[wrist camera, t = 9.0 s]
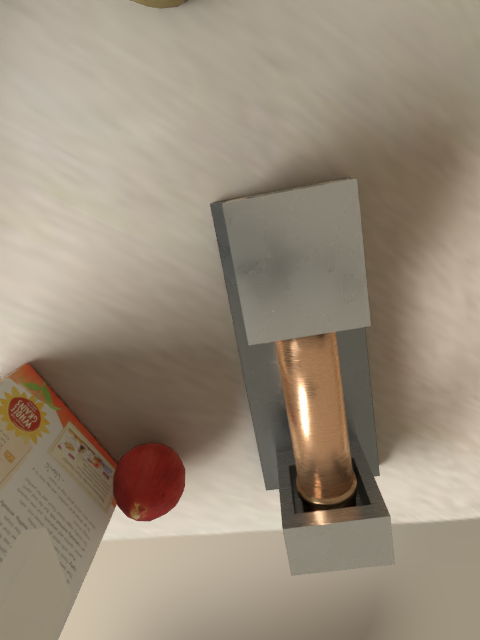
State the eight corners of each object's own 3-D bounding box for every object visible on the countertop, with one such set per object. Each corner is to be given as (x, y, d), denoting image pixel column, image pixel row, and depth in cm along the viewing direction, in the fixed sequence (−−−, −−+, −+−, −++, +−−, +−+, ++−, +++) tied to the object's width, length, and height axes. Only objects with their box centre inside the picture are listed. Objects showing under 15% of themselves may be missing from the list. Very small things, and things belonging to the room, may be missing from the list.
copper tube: (299, 499, 34) (305, 543, 30) (263, 286, 29) (264, 303, 25) (353, 492, 34) (367, 535, 29) (326, 275, 28) (339, 290, 24)
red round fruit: (189, 482, 39) (173, 555, 31) (127, 476, 39) (96, 547, 31) (192, 428, 37) (176, 490, 29) (128, 421, 37) (95, 482, 29)
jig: (265, 481, 38) (269, 578, 29) (211, 203, 31) (193, 209, 22) (375, 466, 38) (417, 561, 28) (346, 177, 30) (388, 172, 21)
